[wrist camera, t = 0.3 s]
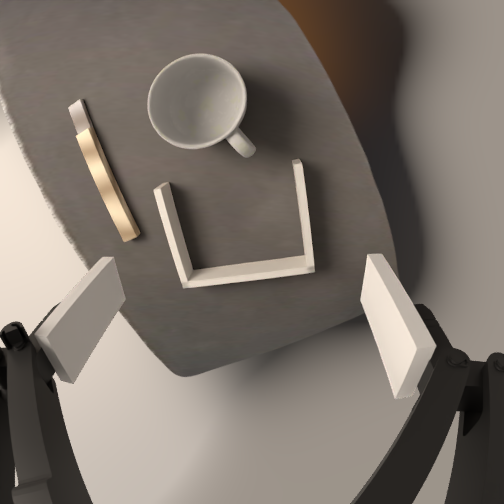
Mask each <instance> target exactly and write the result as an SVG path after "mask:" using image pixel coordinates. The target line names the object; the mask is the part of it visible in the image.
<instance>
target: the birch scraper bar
mask: <svg viewBox="0 0 504 504" xmlns="http://www.w3.org/2000/svg"><path fill="white" fill-rule="evenodd" d="M69 111H70V114H71V117H72V119H73V122H74V125H75V127H76V130H77V133H78V135H77V136H76V137H77V140H78V142H79V145H80V147H81V150H82V152H83V155H84V157H85V160H86V162H87V164H88V167H89V169H90V171H91V174H92V176H93V178H94V180H95V183H96V185H97V187H98V189H99V191H100V194H101V196H102V198H103V200H104V202H105V204H106V206H107V208H108V211H109V213H110V215H111V217H112V219H113V221H114V223H115V225H116V227H117V229H118V231H119V233H120V235H121V237H122V239H123V241H124V242H125V241H128V240H130V239H133V238H135V237H137V236H138V235H139V234H140V231H139V229H138V227H137V225H136V223H135V221H134V218H133V216H132V214H131V212H130V210H129V208H128V206H127V204H126V202H125V200H124V197H123V195H122V193H121V191H120V189H119V187H118V184H117V182H116V180H115V178H114V175H113V173H112V171H111V169H110V166H109V164H108V162H107V159H106V157H105V155H104V152H103V150H102V147H101V145H100V143H99V140H98V138H97V135H96V133H95V130H94V128H93V125H92V122H91V120H90V117H89V115H88V112H87V109H86V107H85V104H84V101H83V99H80V100H78V101H77V102H75V103H74V104H73V105H71V106H70V107H69Z"/></svg>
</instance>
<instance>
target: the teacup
mask: <svg viewBox="0 0 504 504" xmlns="http://www.w3.org/2000/svg"><path fill="white" fill-rule="evenodd" d="M246 107H247V91H246V86H245V83H244V81H243V79H242V76H241V75H240V73H239V72H238V71H237V69H236V68H235V67H234V66H233V65H232V64H230V63H229V62H228V61H226V60H224V59H222V58H220V57H218V56H215V55H211V54H191V55H187V56H184V57H181V58H179V59H177V60H175V61H173V62H172V63H170V64H169V65H167V66H166V67H165V68H164V69H162V71H161V72H160V73H159V74H158V76H157V77H156V78H155V80H154V82H153V84H152V86H151V88H150V91H149V96H148V114H149V118H150V121H151V123H152V125H153V127H154V129H155V130H156V131H157V133H158V134H159V135H160V136H161V137H162V138H163V139H164V140H166V141H168V142H169V143H171V144H173V145H175V146H177V147H180V148H186V149H201V148H206V147H209V146H212V145H214V144H216V143H218V142H220V141H222V140H223V139H227V141H228V142H229V143H230V144H231V145H232V147H233V148H234V149H235V150H236V151H237V152H238V153H240V154H241V155H242V156H243V157H246V158H248V157H250V156H252V155H253V154H254V153H255V150H256V148H255V146H254V145H253V144H252V142H251V141H250V140H249V139H248V138H247V137H246V135H245V134H244V133H243V132H242V131H241V130H240V129H239V127H238V126H239V125H240V123H241V121H242V119H243V117H244V115H245V112H246Z"/></svg>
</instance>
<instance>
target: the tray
mask: <svg viewBox="0 0 504 504" xmlns="http://www.w3.org/2000/svg"><path fill="white" fill-rule="evenodd" d="M292 164H293V170H294V177H295V184H296V191H297V198H298V205H299V213H300V220H301V228H302V236H303V244H304V253H305V255H303V256H296V257H289V258H281V259H274V260H266V261H258V262H251V263H243V264H235V265H228V266H220V267H212V268H204V269H196V270H193V267H192V264H191V261H190V257H189V254H188V250H187V247H186V243H185V240H184V237H183V233H182V229H181V226H180V222H179V219H178V215H177V211H176V208H175V204H174V200H173V196H172V192H171V189H170V185H169V182H167V183H163V184H161V185H160V186H158V187H157V188H156V189H154V194H155V197H156V201H157V204H158V208H159V212H160V215H161V218H162V222H163V225H164V229H165V232H166V235H167V239H168V242H169V245H170V248H171V252H172V255H173V258H174V261H175V264H176V267H177V270H178V274H179V277H180V280H181V283H182V286H183V288H190V287H200V286H209V285H218V284H226V283H235V282H243V281H251V280H260V279H268V278H275V277H283V276H291V275H298V274H306V273H313V272H315V268H314V257H313V247H312V238H311V229H310V220H309V212H308V204H307V196H306V188H305V181H304V174H303V167H302V162H301V161H300V159H295V160H292Z"/></svg>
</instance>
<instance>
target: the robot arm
mask: <svg viewBox="0 0 504 504" xmlns="http://www.w3.org/2000/svg"><path fill="white" fill-rule="evenodd" d="M125 300H126V299H125V295H124V292H123V289H122V285H121V282H120V278H119V275H118V271H117V267H116V264H115V260H114V257H102V258H101V259H100V260H99V261H98V262H97V263H96V264H95V265H94V266H93V267H92V268H91V269H90V271H89V272H88V273H87V274H86V275H85V276H84V277H83V278H82V279H81V280H80V281H79V283H78V284H77V285H76V286H75V287H74V288H73V289H72V290H71V291H70V292H69V294H68V295H67V296H66V297H65V298H64V299H63V301H62V302H60V303H59V304H57V305H56V306H54V307H53V308H52V309H51V310H50V312H49V313H48V314H47V315H46V316H45V317H44V319H43V321H41V322H40V323H39V325H38V326H37V327H36V328H35V329H34V331H33V332H32V333H31V334H30V336H28V334H27V332H26V331H25V329H24V327H23V325H22V323H20V322H12V323H10V324H8V325H6V326H5V327H4V328H3V329H2V330H1V332H0V338H1V339H2V341H3V343H4V344H5V346H6V348H1V347H0V504H93V503H92V501H91V498H90V496H89V494H88V491H87V489H86V486H85V484H84V481H83V479H82V476H81V473H80V470H79V468H78V465H77V462H76V459H75V456H74V453H73V450H72V447H71V443H70V440H69V437H68V434H67V430H66V426H65V422H64V419H63V415H62V411H61V406H60V402H59V397H58V393H57V388H56V383H55V381H54V379H53V377H52V376H53V375H54V373H55V372H56V373H57V375H58V376H59V378H60V380H61V381H65V382H68V383H72V384H74V382H75V381H76V379H77V377H78V375H79V373H80V372H81V370H82V368H83V367H84V365H85V363H86V361H87V360H88V358H89V357H90V355H91V353H92V351H93V350H94V348H95V347H96V345H97V343H98V342H99V340H100V338H101V337H102V335H103V334H104V332H105V331H106V329H107V327H108V326H109V324H110V323H111V321H112V319H113V318H114V316H115V315H116V313H117V312H118V310H119V309H120V307H121V306H122V304H123V303H124V301H125ZM360 300H361V303H362V305H363V308H364V311H365V313H366V316H367V319H368V321H369V324H370V327H371V329H372V331H373V335H374V338H375V341H376V343H377V346H378V349H379V352H380V355H381V358H382V361H383V364H384V367H385V370H386V373H387V376H388V379H389V382H390V385H391V388H392V391H393V394H394V398H395V399H399V398H405V397H411V396H413V394H414V392H415V390H416V388H417V387H418V390H419V392H420V396H419V398H418V400H417V401H416V403H415V405H414V407H413V408H412V411H411V413H410V415H409V417H408V419H407V420H406V422H405V424H404V426H403V427H402V429H401V431H400V433H399V434H398V436H397V438H396V439H395V441H394V443H393V444H392V446H391V448H390V449H389V451H388V452H387V454H386V455H385V457H384V458H383V460H382V461H381V463H380V464H379V466H378V467H377V469H376V470H375V472H374V473H373V474H372V476H371V477H370V479H369V480H368V481H367V483H366V484H365V485H364V487H363V488H362V490H361V491H360V492H359V494H358V495H357V496H356V497H355V498H354V500H353V501H352V502H351V503H350V504H412V503H413V501H414V500H415V498H416V496H417V494H418V493H419V491H420V489H421V487H422V486H423V484H424V482H425V480H426V478H427V476H428V474H429V472H430V471H431V469H432V467H433V464H434V463H435V460H436V458H437V456H438V454H439V452H440V450H441V448H442V445H443V443H444V441H445V438H446V436H447V434H448V431H449V429H450V427H451V424H452V422H453V419H454V416H455V414H456V411H460V417H459V427H458V435H457V443H456V450H455V456H454V462H453V468H452V473H451V478H450V483H449V487H448V491H447V496H446V500H445V504H504V354H502V353H493V354H491V355H490V356H489V357H488V359H487V361H486V362H480V361H471V360H470V359H469V357H468V356H467V354H466V353H465V352H463V351H461V350H459V349H455V348H453V347H452V346H451V344H450V342H449V340H448V339H447V337H446V335H445V333H444V332H443V330H442V328H441V327H440V326H439V323H438V321H437V320H436V318H435V317H434V315H433V313H432V312H431V310H430V309H428V308H427V307H426V306H424V305H423V304H413V303H412V301H411V300H410V298H409V296H408V295H407V293H406V291H405V290H404V288H403V286H402V285H401V283H400V282H399V280H398V278H397V277H396V275H395V274H394V272H393V270H392V269H391V267H390V266H389V264H388V263H387V261H386V260H385V258H384V256H383V255H382V254H367V262H366V269H365V275H364V281H363V288H362V293H361V299H360ZM15 467H16V472H17V477H18V483H19V485H18V486H17V487H15Z"/></svg>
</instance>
